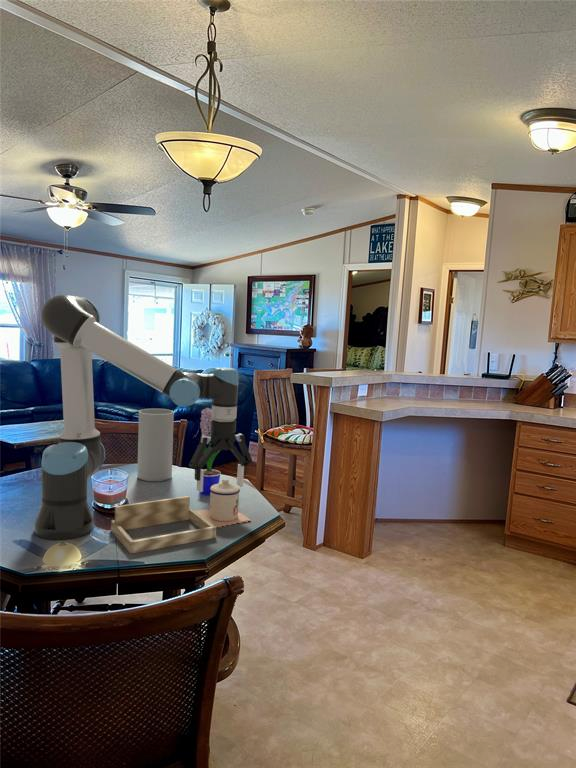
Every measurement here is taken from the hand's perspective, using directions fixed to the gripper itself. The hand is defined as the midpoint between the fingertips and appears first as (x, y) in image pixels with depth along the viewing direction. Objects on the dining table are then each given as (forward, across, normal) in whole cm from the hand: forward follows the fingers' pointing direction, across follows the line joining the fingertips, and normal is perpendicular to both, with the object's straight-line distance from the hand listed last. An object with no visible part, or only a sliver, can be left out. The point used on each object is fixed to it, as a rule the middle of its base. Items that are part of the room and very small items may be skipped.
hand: (220, 488), depth 170 cm
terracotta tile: (+9, 0, 0) cm, 9 cm away
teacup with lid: (+9, +2, 0) cm, 9 cm away
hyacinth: (+10, +8, +23) cm, 26 cm away
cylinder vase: (+10, -3, +48) cm, 49 cm away
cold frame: (+9, -20, -5) cm, 22 cm away
